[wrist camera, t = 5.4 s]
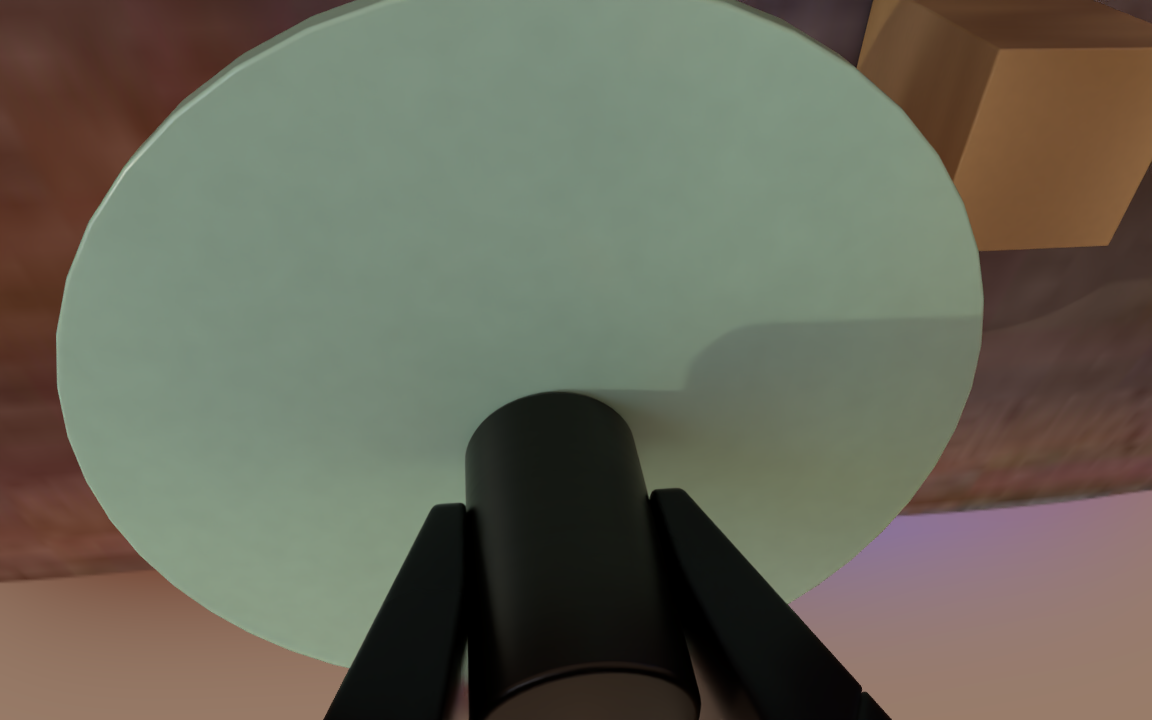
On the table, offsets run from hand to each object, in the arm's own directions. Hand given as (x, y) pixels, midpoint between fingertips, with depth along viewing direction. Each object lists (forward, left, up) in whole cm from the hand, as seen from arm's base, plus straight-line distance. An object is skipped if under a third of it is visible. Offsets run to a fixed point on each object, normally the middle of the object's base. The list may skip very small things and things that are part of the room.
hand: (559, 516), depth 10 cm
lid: (0, 0, -2) cm, 2 cm away
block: (-11, -1, -13) cm, 17 cm away
